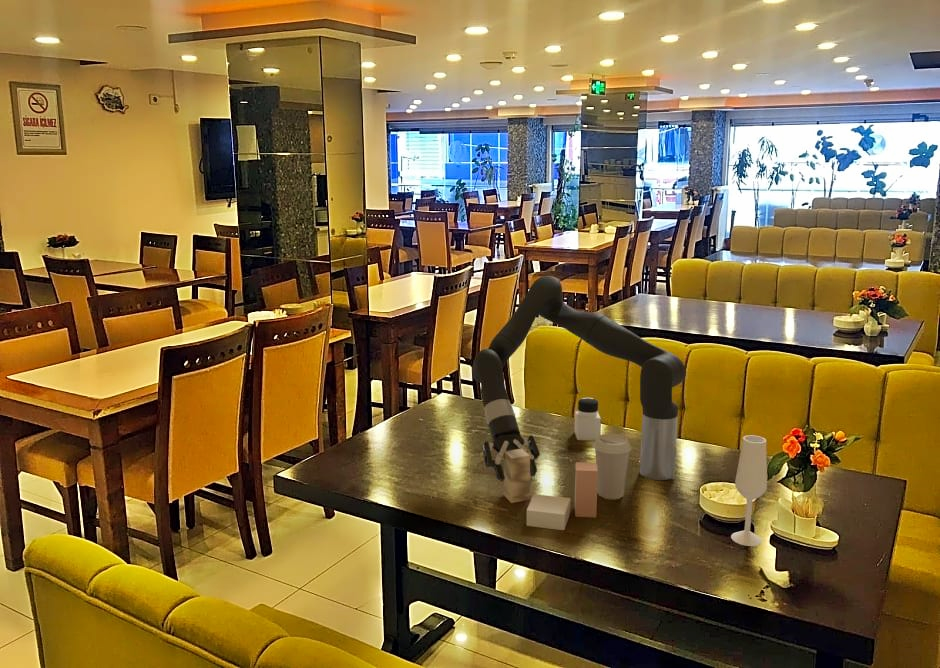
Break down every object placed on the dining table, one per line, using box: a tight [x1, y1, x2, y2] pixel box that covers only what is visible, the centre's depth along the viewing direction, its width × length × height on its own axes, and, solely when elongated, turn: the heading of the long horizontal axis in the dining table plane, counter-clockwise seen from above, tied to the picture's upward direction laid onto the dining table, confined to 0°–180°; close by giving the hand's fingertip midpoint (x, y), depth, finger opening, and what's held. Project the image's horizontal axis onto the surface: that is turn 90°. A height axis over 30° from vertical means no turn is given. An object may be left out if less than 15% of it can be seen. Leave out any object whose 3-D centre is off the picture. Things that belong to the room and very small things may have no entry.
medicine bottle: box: [573, 397, 602, 441], centre depth 236 cm, size 7×7×12 cm
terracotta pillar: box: [574, 461, 598, 518], centre depth 186 cm, size 5×5×12 cm
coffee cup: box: [592, 433, 632, 500], centre depth 195 cm, size 10×10×15 cm
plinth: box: [526, 493, 571, 531], centre depth 183 cm, size 9×9×4 cm
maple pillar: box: [503, 449, 531, 504], centre depth 194 cm, size 5×5×12 cm
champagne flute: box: [730, 434, 768, 547], centre depth 171 cm, size 7×7×24 cm
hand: (518, 477), depth 193 cm, fingers open, 8 cm apart
